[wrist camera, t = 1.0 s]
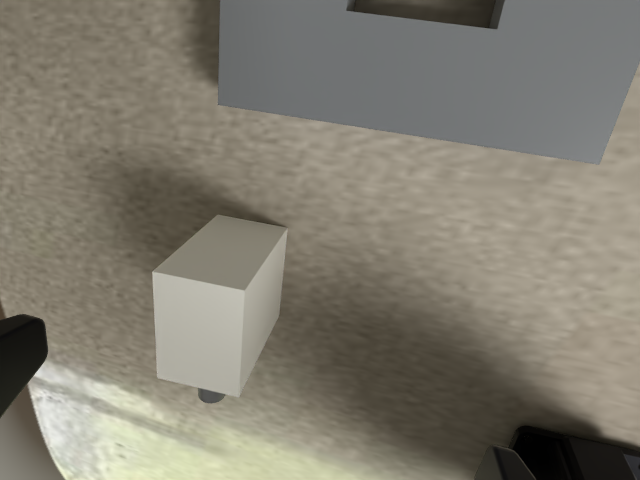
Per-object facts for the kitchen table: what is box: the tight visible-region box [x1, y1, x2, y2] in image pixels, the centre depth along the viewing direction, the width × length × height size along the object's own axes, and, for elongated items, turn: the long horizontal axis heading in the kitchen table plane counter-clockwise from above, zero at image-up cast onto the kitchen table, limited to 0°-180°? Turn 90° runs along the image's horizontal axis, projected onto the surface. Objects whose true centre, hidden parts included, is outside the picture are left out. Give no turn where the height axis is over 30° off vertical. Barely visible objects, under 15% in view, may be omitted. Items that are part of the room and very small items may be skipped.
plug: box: [152, 215, 288, 403], centre depth 20 cm, size 7×4×6 cm, turn 173°
